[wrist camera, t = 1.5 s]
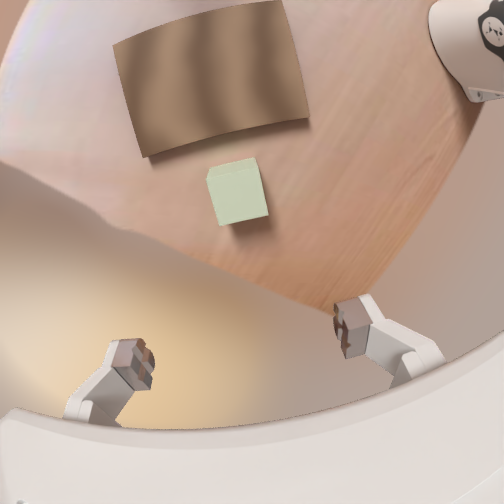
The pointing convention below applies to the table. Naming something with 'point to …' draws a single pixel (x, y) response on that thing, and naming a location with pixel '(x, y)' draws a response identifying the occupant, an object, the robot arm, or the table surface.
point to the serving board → (211, 75)
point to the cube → (236, 191)
